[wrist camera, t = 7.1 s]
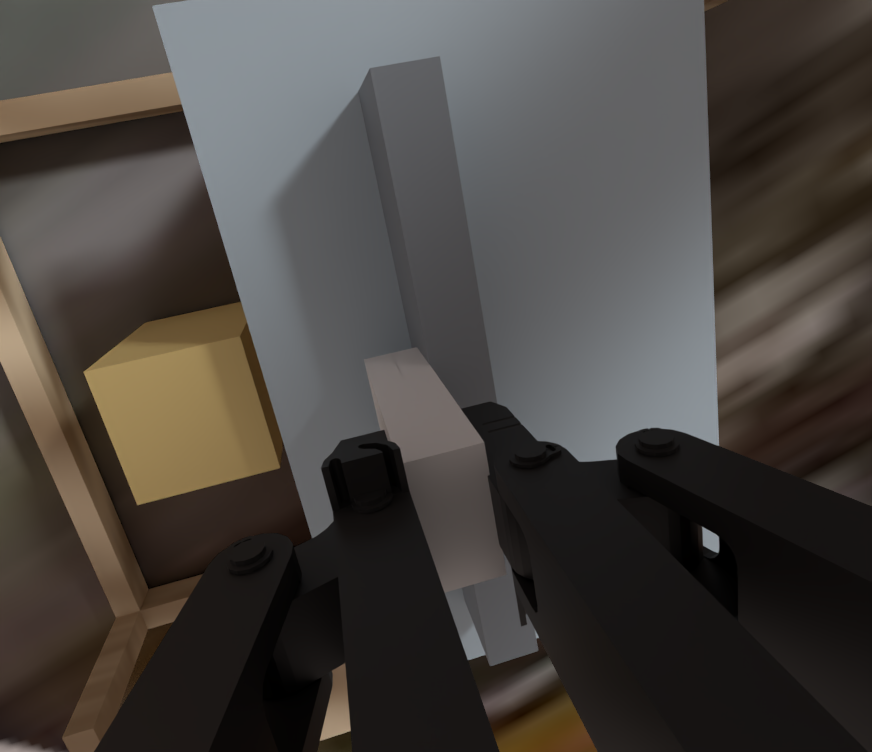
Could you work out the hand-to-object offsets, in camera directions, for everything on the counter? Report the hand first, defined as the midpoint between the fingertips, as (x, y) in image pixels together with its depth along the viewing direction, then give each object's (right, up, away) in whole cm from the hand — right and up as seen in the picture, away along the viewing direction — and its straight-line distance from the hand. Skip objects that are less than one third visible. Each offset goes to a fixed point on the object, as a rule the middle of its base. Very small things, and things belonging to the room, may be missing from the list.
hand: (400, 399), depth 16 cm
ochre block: (-8, +1, +8) cm, 12 cm away
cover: (+3, +1, +2) cm, 4 cm away
